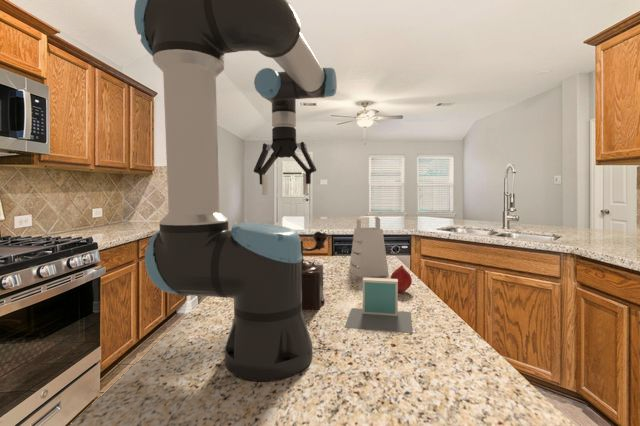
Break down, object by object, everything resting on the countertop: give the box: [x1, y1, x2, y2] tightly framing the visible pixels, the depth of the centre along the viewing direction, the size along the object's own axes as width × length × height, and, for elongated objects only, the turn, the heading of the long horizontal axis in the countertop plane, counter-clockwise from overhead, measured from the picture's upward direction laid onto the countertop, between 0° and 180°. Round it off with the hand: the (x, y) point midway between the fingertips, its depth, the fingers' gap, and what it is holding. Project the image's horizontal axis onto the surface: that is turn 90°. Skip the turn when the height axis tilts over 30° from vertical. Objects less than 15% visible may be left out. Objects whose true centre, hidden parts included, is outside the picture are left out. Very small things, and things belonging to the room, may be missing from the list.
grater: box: [348, 215, 390, 279], centre depth 119 cm, size 10×10×20 cm
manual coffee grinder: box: [300, 230, 328, 311], centre depth 89 cm, size 16×11×18 cm
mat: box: [343, 307, 414, 334], centre depth 76 cm, size 12×14×1 cm
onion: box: [390, 265, 413, 294], centre depth 96 cm, size 6×6×8 cm
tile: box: [362, 277, 399, 316], centre depth 79 cm, size 2×8×8 cm, turn 77°
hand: (285, 194), depth 108 cm, fingers open, 13 cm apart
